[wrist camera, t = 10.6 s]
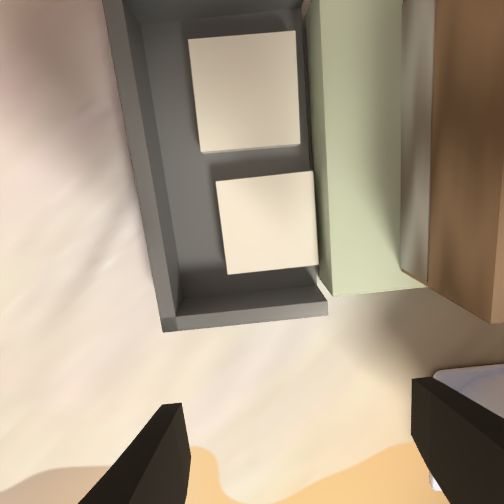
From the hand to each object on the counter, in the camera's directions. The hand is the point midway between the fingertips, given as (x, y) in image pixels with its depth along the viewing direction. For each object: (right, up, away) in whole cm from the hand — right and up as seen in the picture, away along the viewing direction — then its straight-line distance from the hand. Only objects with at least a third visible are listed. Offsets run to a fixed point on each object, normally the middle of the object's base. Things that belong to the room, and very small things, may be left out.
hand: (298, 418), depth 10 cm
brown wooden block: (+7, +10, +5) cm, 13 cm away
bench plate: (+7, +11, +8) cm, 15 cm away
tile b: (-2, +13, +7) cm, 15 cm away
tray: (-3, +10, +8) cm, 13 cm away
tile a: (-1, +7, +8) cm, 11 cm away
